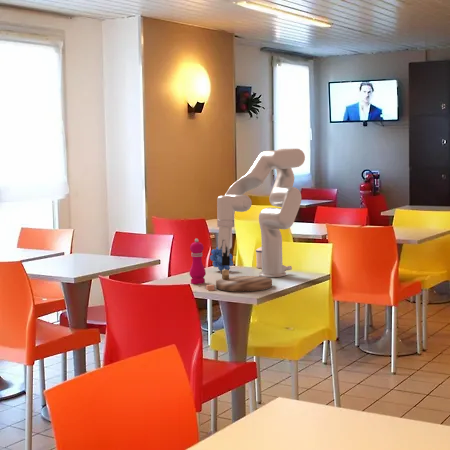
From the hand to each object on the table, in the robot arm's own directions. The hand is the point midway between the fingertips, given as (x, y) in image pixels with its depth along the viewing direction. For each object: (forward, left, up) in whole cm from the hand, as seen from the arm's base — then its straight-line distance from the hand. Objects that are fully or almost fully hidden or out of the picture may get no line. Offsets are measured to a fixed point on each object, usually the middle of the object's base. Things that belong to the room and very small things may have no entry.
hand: (225, 265), depth 351 cm
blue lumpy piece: (-13, -34, -9) cm, 37 cm away
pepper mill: (+10, -10, -9) cm, 16 cm away
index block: (+12, +10, -8) cm, 18 cm away
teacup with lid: (-37, -33, -9) cm, 50 cm away
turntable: (-2, +12, -8) cm, 15 cm away
